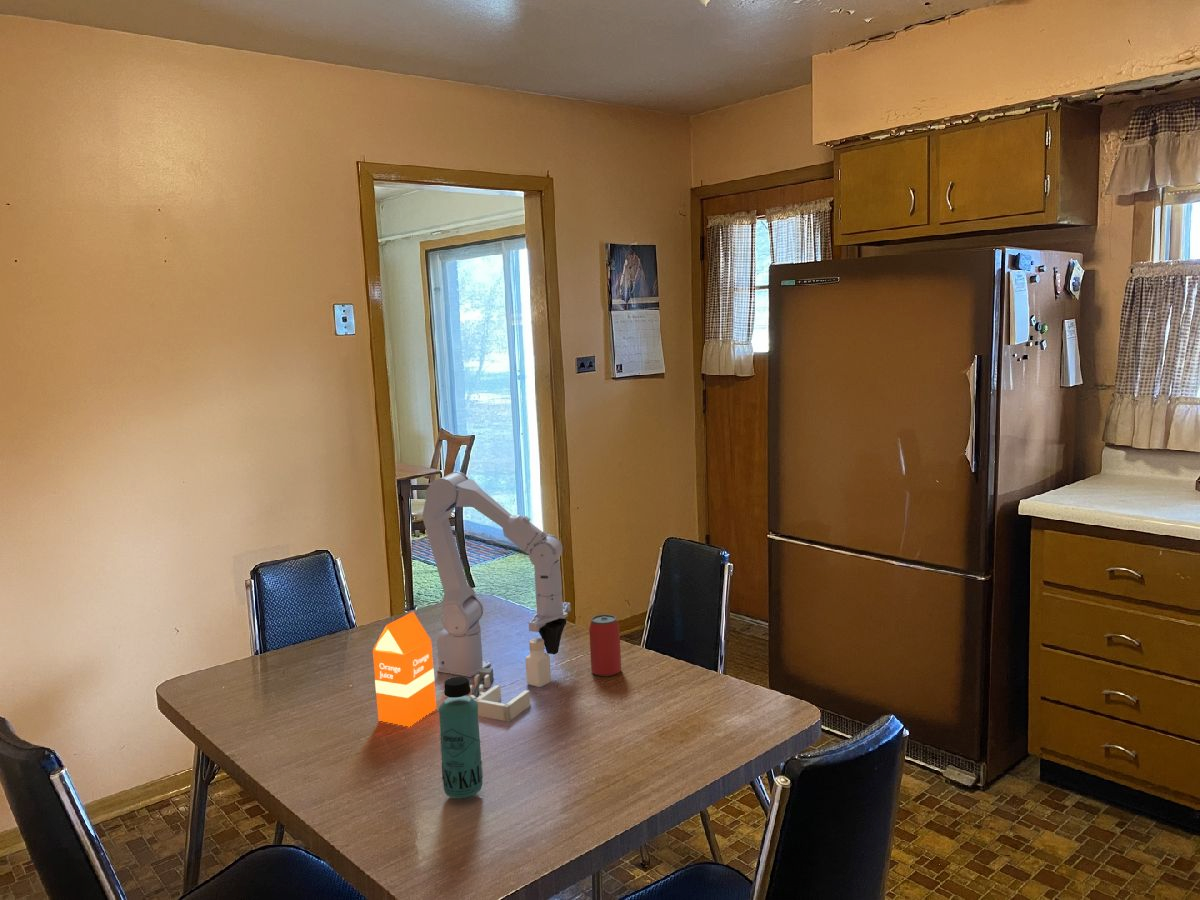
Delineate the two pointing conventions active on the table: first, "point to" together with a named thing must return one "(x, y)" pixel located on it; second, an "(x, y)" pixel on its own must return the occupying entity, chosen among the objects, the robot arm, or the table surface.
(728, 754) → the table surface
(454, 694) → the beverage bottle
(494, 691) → the end holder
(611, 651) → the beer can
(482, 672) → the cable route
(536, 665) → the pepper shaker
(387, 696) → the orange juice
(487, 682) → the clips
